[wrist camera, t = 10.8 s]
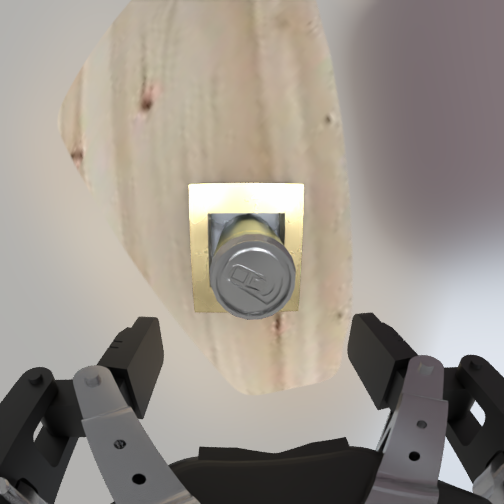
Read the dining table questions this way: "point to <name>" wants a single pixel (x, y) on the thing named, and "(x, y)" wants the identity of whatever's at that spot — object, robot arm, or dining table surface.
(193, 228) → the socket block
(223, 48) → the dining table surface
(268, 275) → the beer can
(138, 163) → the dining table surface
